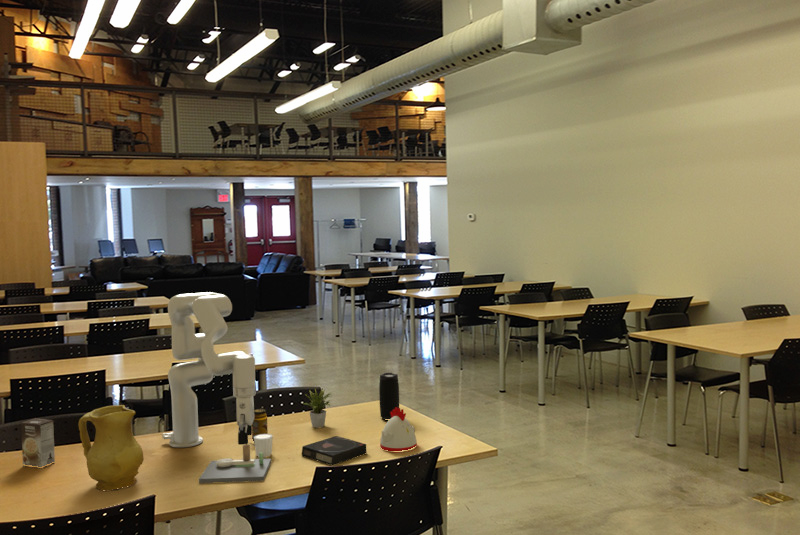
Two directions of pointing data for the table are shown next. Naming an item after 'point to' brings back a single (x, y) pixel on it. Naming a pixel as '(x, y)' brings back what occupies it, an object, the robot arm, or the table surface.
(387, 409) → the portable speaker
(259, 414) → the condiment
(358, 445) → the flat black box
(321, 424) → the house plant
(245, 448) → the light piece
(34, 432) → the coffee box
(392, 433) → the kitchen timer
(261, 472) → the board
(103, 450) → the pitcher
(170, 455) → the table surface
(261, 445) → the white cup
